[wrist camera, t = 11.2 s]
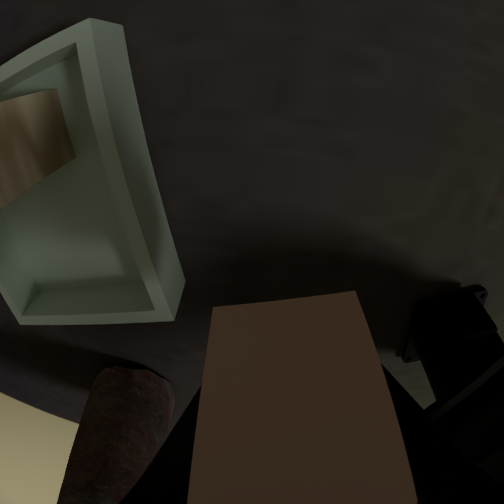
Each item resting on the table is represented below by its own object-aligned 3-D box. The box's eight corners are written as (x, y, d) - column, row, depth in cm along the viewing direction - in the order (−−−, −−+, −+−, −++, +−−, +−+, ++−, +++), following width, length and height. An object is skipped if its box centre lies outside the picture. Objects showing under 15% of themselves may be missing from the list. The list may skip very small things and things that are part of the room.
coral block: (347, 375, 11) (376, 531, 6) (237, 386, 11) (231, 544, 6) (355, 290, 9) (418, 502, 4) (213, 307, 9) (184, 525, 4)
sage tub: (185, 281, 19) (174, 320, 16) (41, 293, 21) (20, 324, 18) (122, 25, 12) (89, 17, 9) (-29, 104, 13) (-66, 118, 10)
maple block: (76, 157, 14) (6, 205, 9) (26, 177, 15) (-41, 225, 10) (56, 88, 12) (-24, 110, 7) (7, 115, 13) (-69, 147, 8)
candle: (163, 415, 29) (133, 597, 11) (94, 388, 27) (43, 569, 10) (187, 380, 25) (155, 615, 8) (104, 347, 23) (32, 579, 6)
